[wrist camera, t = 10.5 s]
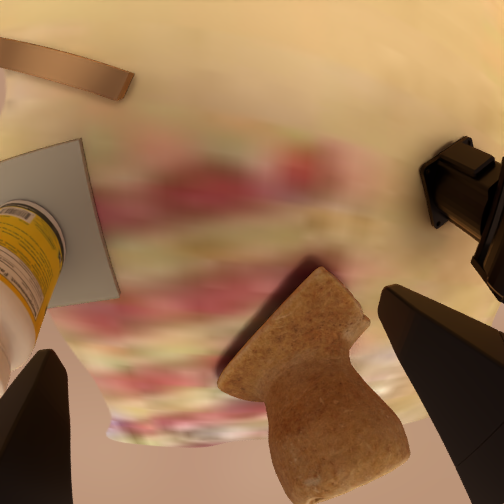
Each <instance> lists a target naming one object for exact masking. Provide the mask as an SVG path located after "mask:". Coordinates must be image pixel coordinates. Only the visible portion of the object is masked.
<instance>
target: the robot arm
mask: <svg viewBox="0 0 504 504" xmlns="http://www.w3.org/2000/svg"><path fill="white" fill-rule="evenodd" d="M426 170H427V172H426ZM420 173H421V177H422V181H423V186H424V190H425V194H426V199H427V203H428V208H429V213H430V218H431V223H432V226H433V227H435V228H436V229H438V228H439V227H441V226H442V225H443V224H445V223H446V222H447V221H448V220H449V221H450V222H452V223H453V224H455V225H456V226H457V227H459V228H460V229H462V230H463V231H464V232H466V233H467V234H468V235H470V236H471V237H472V238H474V239H475V240H476V241H478V242H479V244H478V247H477V249H476V252H475V255H474V256H473V257H472V260H471V264H472V265H473V267H474V268H475V269H476V271H477V272H478V273H479V275H480V276H481V277H482V279H483V280H484V282H485V283H486V284H487V286H488V287H489V289H490V290H491V291H492V293H493V294H494V295H495V297H496V298H497V300H498V301H499V302H502V303H504V157H503V158H502V162H501V163H499V162H497V161H495V158H494V157H493V156H492V155H490V154H487V153H485V152H483V151H481V150H478V149H476V148H474V147H473V142H472V139H471V138H470V137H467V136H465V137H464V138H462V139H461V140H459V141H458V142H456V143H455V144H453V145H452V146H450V147H449V148H447V149H446V150H445V151H443V152H442V153H440V154H439V155H437V156H436V157H435V158H433V159H432V160H430V161H429V162H427V163H426V164H424V165H423V166H422V167H421V170H420ZM378 316H379V318H380V321H381V323H382V325H383V327H384V329H385V331H386V334H387V336H388V338H389V340H390V342H391V345H392V347H393V349H394V351H395V354H396V356H397V358H398V360H399V361H400V363H401V365H402V367H403V369H404V370H405V372H406V374H407V376H408V378H409V379H410V381H411V383H412V385H413V386H414V388H415V390H416V392H417V394H418V396H419V397H420V399H421V401H422V403H423V405H424V407H425V408H426V410H427V412H428V414H429V416H430V418H431V420H432V422H433V423H434V426H435V427H436V429H437V431H438V433H439V435H440V437H441V439H442V441H443V443H444V445H445V447H446V449H447V451H448V453H449V455H450V457H451V459H452V461H453V463H454V465H455V467H456V470H457V472H458V474H459V476H460V478H461V480H462V483H463V485H464V487H465V489H466V491H467V493H468V496H469V498H470V500H471V503H472V504H503V503H504V333H503V332H501V331H498V330H496V329H494V328H492V327H490V326H488V325H486V324H484V323H482V322H480V321H477V320H475V319H473V318H471V317H469V316H467V315H465V314H462V313H460V312H458V311H456V310H454V309H452V308H449V307H447V306H445V305H443V304H441V303H439V302H436V301H434V300H432V299H430V298H428V297H425V296H423V295H421V294H419V293H416V292H414V291H412V290H410V289H408V288H405V287H403V286H401V285H398V284H393V285H389V286H386V287H384V288H383V290H382V293H381V297H380V301H379V305H378ZM70 457H71V456H70V415H69V400H68V376H67V372H66V369H65V367H64V366H63V364H62V363H61V361H60V359H59V358H58V356H57V355H56V353H55V352H54V351H53V350H52V349H44V350H39V351H38V352H37V353H36V354H35V355H34V356H33V358H32V359H31V360H30V361H29V363H28V364H27V365H26V366H25V368H24V369H23V370H22V371H21V372H20V374H19V375H18V376H17V377H16V379H15V380H14V381H13V383H12V384H11V385H10V386H9V388H8V389H7V390H6V392H5V393H4V394H3V396H2V397H1V398H0V504H73V498H72V483H71V459H70Z"/></svg>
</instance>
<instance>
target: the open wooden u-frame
mask: <svg viewBox="0 0 504 504" xmlns="http://www.w3.org/2000/svg"><path fill="white" fill-rule="evenodd" d="M0 67H1V68H5V69H9V70H13V71H18V72H22V73H25V74H29V75H33V76H37V77H41V78H44V79H48V80H51V81H55V82H58V83H62V84H65V85H69V86H72V87H75V88H78V89H82V90H85V91H88V92H91V93H94V94H97V95H100V96H103V97H106V98H109V99H112V100H115V101H118V100H120V99H122V98H124V96H125V93H126V91H127V89H128V87H129V84H130V82H131V80H132V78H133V76H134V73H131V72H128V71H125V70H123V69H120V68H117V67H113V66H110V65H107V64H104V63H101V62H98V61H95V60H91V59H88V58H85V57H81V56H78V55H74V54H70V53H67V52H63V51H59V50H56V49H52V48H48V47H43V46H39V45H35V44H31V43H26V42H21V41H17V40H12V39H7V38H1V37H0Z"/></svg>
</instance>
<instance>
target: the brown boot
mask: <svg viewBox="0 0 504 504" xmlns="http://www.w3.org/2000/svg"><path fill="white" fill-rule="evenodd" d="M369 325H370V319H369V318H368V317H367V316H365V315H364V314H363V312H362V310H361V306H360V304H359V302H358V301H357V300H356V299H355V298H354V297H353V295H352V294H351V293H350V291H349V290H348V289H347V288H345V287H344V286H343V284H342V283H341V282H340V281H339V280H338V279H337V278H336V277H335V276H334V275H333V274H331V273H330V272H329V271H327V270H326V269H325V268H324V267H322V266H321V267H318V268H317V269H316V270H314V271H313V272H312V273H311V274H310V275H309V276H308V277H307V278H306V279H305V280H304V281H303V282H302V283H301V284H300V285H299V286H298V287H297V288H296V290H295V291H294V292H293V293H292V294H291V295H290V296H289V297H288V298H287V299H286V300H285V301H284V302H283V303H282V304H281V305H280V306H279V308H278V309H277V310H276V311H275V312H274V313H273V314H272V315H271V316H270V317H269V318H268V320H267V321H266V322H265V323H264V324H263V325H262V326H261V327H260V328H259V329H258V330H257V331H256V332H255V334H254V335H253V336H252V337H251V338H250V339H249V340H248V341H247V342H246V344H245V345H244V346H243V347H242V348H241V349H240V351H239V352H238V353H237V354H236V355H235V357H234V358H233V359H232V360H231V361H230V363H229V364H228V365H227V366H226V367H225V369H224V370H223V371H222V373H221V375H220V377H219V379H218V382H217V385H218V388H219V389H220V390H221V391H223V392H225V393H227V394H229V395H231V396H234V397H236V398H240V399H243V400H248V401H255V402H264V403H265V406H266V411H267V417H268V422H269V434H268V435H269V448H270V453H271V459H272V463H273V466H274V469H275V472H276V474H277V476H278V479H279V481H280V483H281V485H282V487H283V489H284V491H285V493H286V495H287V496H288V498H289V499H290V500H291V501H292V502H293V504H317V503H319V502H323V501H326V500H329V499H331V498H334V497H337V496H340V495H342V494H345V493H347V492H349V491H352V490H354V489H355V488H357V487H360V486H363V485H365V484H367V483H369V482H371V481H373V480H375V479H377V478H379V477H381V476H384V475H386V474H388V473H389V472H391V471H393V470H394V469H396V468H397V467H399V466H400V465H402V464H404V463H405V462H406V461H407V460H408V458H409V456H410V449H409V444H408V440H407V436H406V434H405V431H404V428H403V425H402V423H401V421H400V419H399V418H398V417H397V415H396V414H395V413H394V412H393V410H392V409H391V408H390V407H389V406H388V405H387V404H386V403H385V402H384V401H383V400H382V399H381V398H380V397H379V396H378V395H377V394H376V393H375V392H374V391H373V390H372V389H371V388H370V387H369V386H368V385H367V383H366V382H365V381H364V380H363V379H362V377H361V376H360V375H359V374H358V373H357V372H356V370H355V369H354V368H353V366H352V365H351V362H350V358H349V349H350V348H351V346H352V345H353V344H354V342H355V341H356V340H357V339H358V338H359V337H360V335H361V334H362V333H363V332H364V331H365V330H366V329H367V328H368V327H369Z"/></svg>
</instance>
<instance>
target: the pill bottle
mask: <svg viewBox="0 0 504 504" xmlns="http://www.w3.org/2000/svg"><path fill="white" fill-rule="evenodd" d="M65 253H66V249H65V242H64V238H63V235H62V232H61V229H60V227H59V226H58V224H57V222H56V221H55V219H54V218H53V217H52V216H51V215H50V214H49V213H48V212H47V211H46V210H45V209H44V208H42V207H41V206H39V205H37V204H35V203H32V202H29V201H24V200H14V201H10V202H7V203H5V204H3V205H1V206H0V398H1V397H2V396H3V394H4V393H5V392H6V389H7V385H8V382H9V379H10V373H11V371H14V370H16V369H18V368H20V367H21V366H22V365H24V364H25V363H26V362H27V360H28V359H29V357H30V356H31V354H32V351H33V349H34V346H35V343H36V340H37V337H38V334H39V331H40V328H41V324H42V322H43V319H44V316H45V313H46V310H47V307H48V304H49V301H50V299H51V296H52V293H53V290H54V288H55V285H56V283H57V280H58V278H59V275H60V273H61V270H62V267H63V264H64V260H65Z"/></svg>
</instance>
